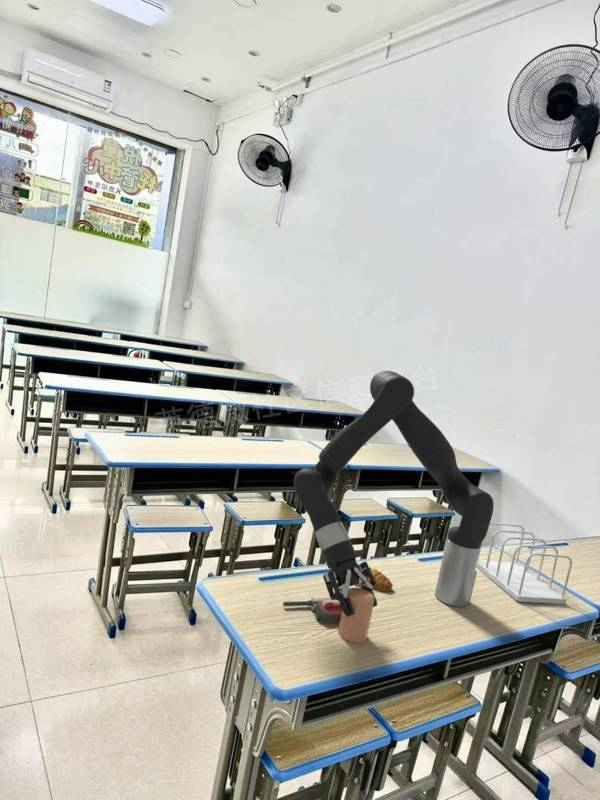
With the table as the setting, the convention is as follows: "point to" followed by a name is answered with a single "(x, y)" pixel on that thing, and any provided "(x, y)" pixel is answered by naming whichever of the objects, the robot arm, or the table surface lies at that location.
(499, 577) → the file sorter
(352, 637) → the cup
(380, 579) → the pastry
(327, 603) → the walkie-talkie
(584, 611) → the table surface
